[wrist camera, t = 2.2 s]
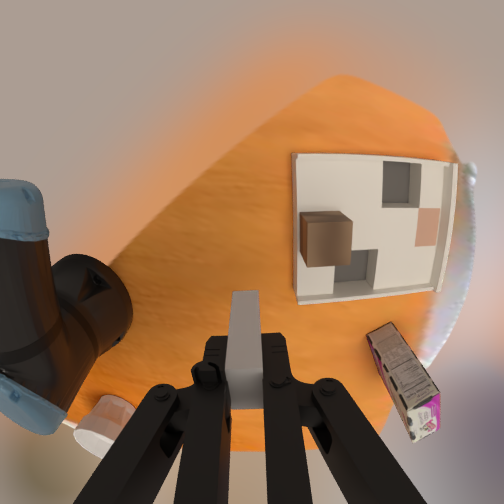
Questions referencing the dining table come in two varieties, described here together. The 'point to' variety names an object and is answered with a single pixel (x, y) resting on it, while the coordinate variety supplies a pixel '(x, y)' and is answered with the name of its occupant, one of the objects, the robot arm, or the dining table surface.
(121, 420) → the cup
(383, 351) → the candy bar box
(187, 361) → the dining table surface
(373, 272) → the tray
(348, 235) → the block
